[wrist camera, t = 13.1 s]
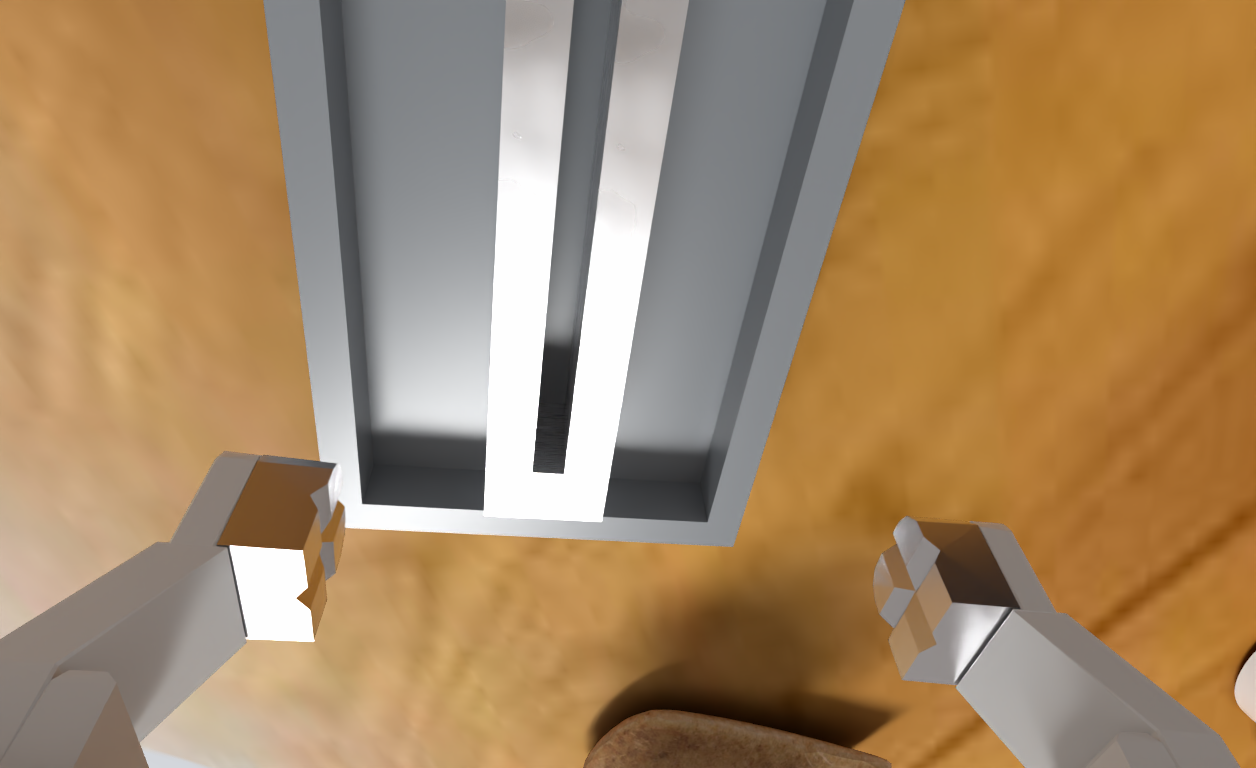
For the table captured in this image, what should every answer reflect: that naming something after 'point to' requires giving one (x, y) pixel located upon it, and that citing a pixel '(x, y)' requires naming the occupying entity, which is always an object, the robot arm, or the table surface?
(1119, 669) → the robot arm
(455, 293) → the utensil tray
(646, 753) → the stone cup
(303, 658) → the table surface
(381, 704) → the table surface
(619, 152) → the steel tongs
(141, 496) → the table surface
